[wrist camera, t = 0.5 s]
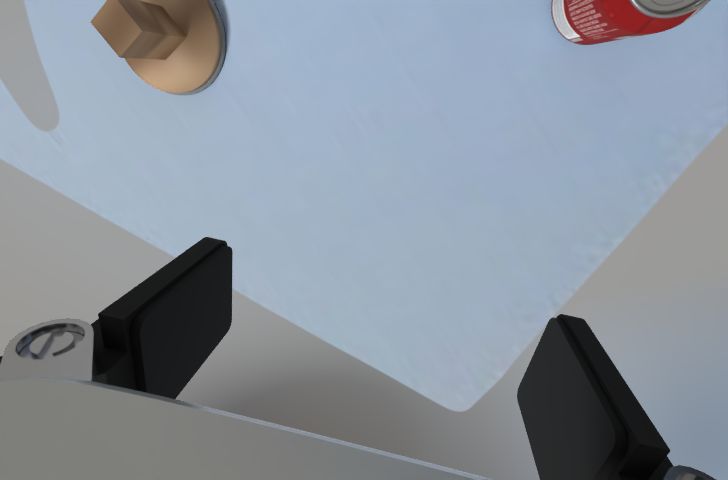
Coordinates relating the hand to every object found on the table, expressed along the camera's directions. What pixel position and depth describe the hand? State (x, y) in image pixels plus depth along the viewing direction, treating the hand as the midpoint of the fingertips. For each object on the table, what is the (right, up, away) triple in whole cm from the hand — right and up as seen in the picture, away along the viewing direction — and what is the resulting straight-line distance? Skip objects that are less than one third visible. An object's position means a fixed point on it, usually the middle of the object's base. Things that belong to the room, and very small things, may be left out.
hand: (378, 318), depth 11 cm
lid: (-19, +22, +25) cm, 39 cm away
